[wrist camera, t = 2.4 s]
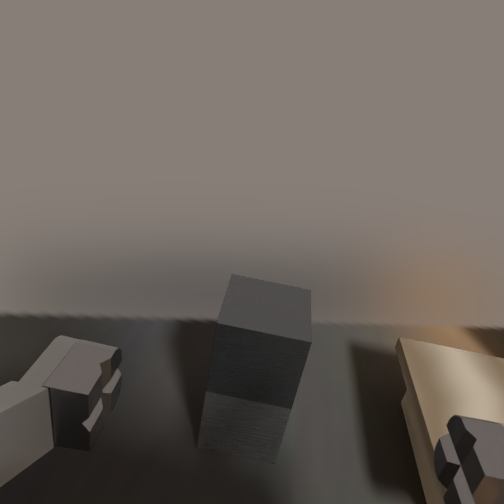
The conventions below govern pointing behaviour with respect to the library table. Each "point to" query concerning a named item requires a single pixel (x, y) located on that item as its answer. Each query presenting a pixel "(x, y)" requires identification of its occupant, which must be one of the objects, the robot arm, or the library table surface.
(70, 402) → the robot arm
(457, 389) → the birch stand
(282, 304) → the block
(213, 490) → the library table surface
